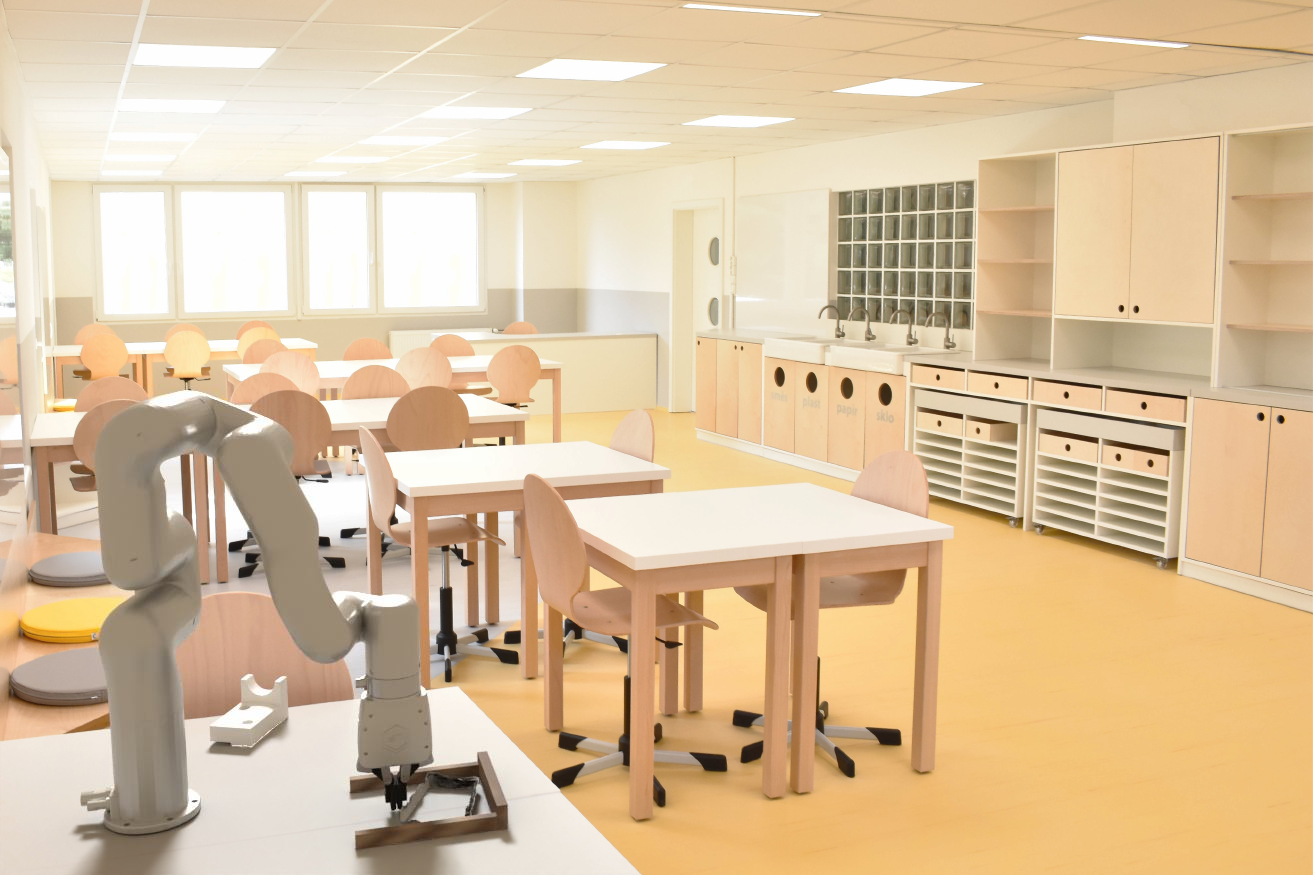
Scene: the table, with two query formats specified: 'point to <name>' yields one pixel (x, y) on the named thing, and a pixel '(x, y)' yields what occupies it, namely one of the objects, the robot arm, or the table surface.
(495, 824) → the stop bay
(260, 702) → the bracket
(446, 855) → the table surface
